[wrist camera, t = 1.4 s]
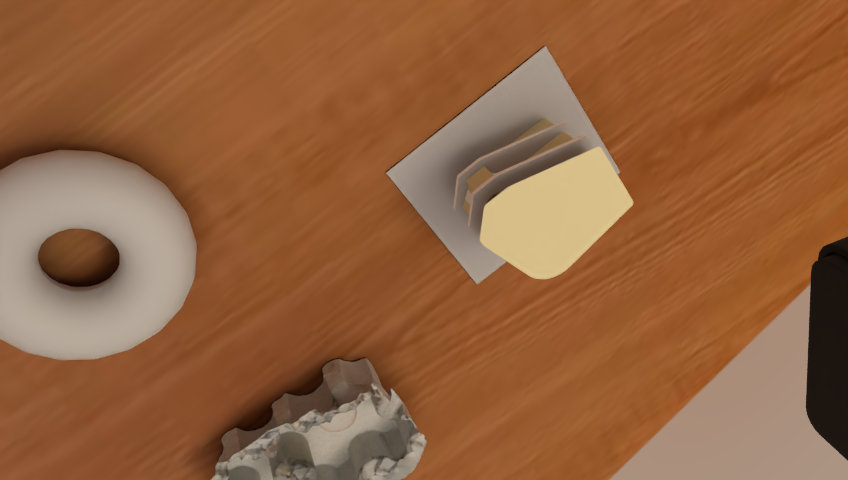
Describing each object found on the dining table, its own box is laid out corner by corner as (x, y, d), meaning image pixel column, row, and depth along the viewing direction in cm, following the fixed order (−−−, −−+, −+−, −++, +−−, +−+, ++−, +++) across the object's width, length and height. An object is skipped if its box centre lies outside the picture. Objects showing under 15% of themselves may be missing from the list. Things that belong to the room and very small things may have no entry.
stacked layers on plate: (545, 45, 40) (600, 76, 35) (620, 171, 45) (676, 214, 40) (385, 172, 40) (419, 219, 36) (476, 284, 45) (516, 338, 40)
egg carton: (360, 337, 44) (380, 381, 41) (420, 420, 48) (443, 466, 45) (193, 443, 44) (199, 497, 40) (268, 517, 48) (279, 572, 45)
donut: (129, 360, 41) (235, 202, 38) (128, 404, 38) (243, 236, 36) (-84, 281, 36) (23, 94, 33) (-104, 324, 33) (12, 123, 31)
